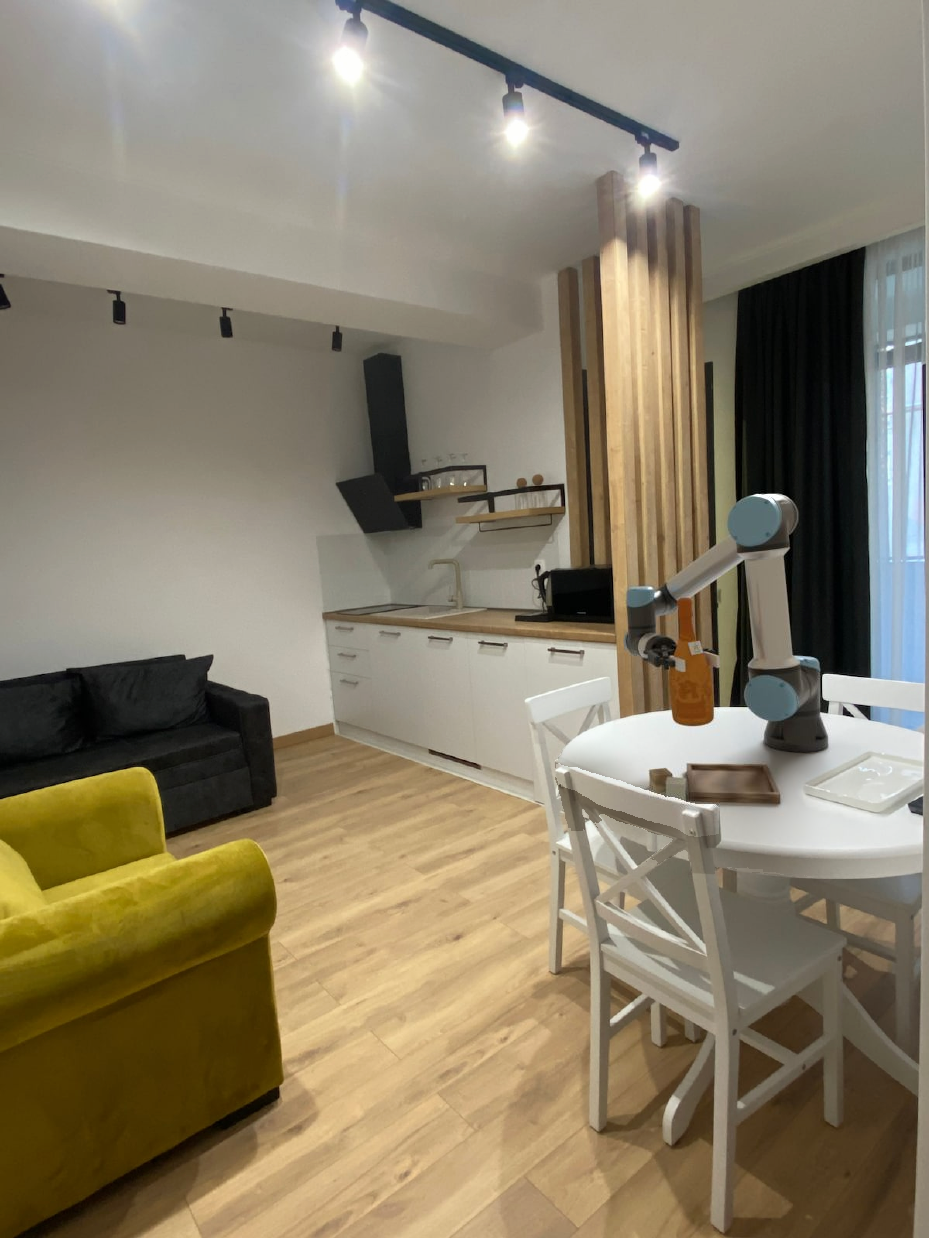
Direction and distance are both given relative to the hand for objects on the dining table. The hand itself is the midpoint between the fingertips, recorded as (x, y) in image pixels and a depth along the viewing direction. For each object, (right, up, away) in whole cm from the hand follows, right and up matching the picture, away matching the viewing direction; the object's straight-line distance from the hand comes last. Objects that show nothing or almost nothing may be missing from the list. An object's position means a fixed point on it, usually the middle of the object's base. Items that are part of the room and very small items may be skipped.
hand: (701, 663), depth 158 cm
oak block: (-9, -28, -1) cm, 30 cm away
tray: (+6, -27, -3) cm, 28 cm away
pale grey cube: (-8, -29, -7) cm, 31 cm away
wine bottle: (0, -14, +7) cm, 16 cm away
